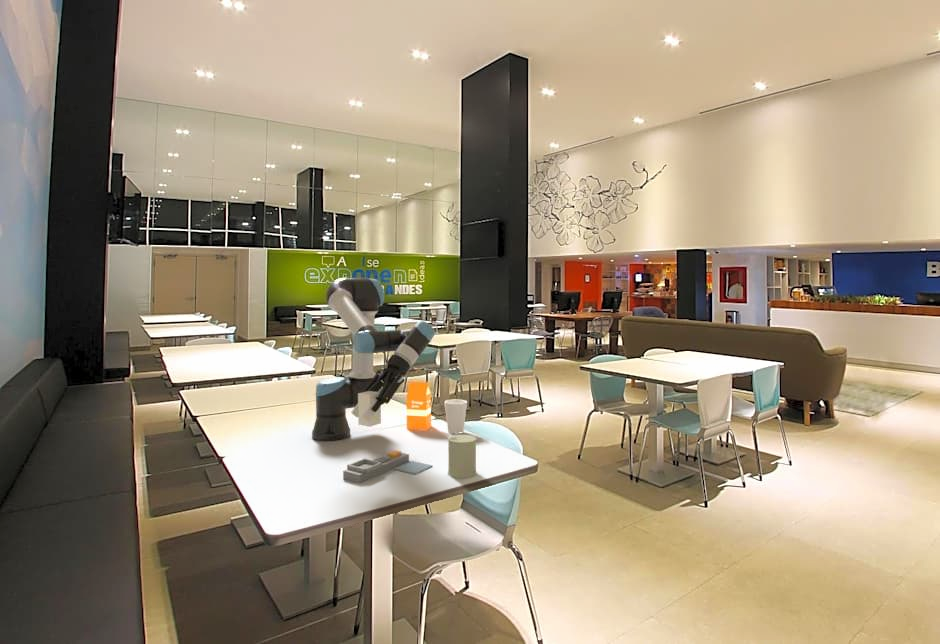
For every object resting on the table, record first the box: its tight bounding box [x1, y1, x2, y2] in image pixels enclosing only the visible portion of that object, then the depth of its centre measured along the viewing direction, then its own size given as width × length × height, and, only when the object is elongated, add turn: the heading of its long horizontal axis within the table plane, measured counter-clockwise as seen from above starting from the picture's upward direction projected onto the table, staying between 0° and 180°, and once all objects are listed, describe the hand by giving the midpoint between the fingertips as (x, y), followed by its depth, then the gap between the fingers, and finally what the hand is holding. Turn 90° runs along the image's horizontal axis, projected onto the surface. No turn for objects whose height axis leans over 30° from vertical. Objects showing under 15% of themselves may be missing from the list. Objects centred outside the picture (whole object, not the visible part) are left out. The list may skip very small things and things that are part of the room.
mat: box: [393, 460, 433, 475], centre depth 169 cm, size 9×9×1 cm
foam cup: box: [444, 398, 468, 434], centre depth 213 cm, size 10×9×13 cm
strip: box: [342, 450, 410, 484], centre depth 168 cm, size 8×24×4 cm, turn 148°
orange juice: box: [406, 381, 432, 431], centre depth 221 cm, size 8×9×20 cm
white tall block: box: [357, 391, 382, 427], centre depth 162 cm, size 5×5×10 cm
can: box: [447, 434, 477, 479], centre depth 164 cm, size 9×9×12 cm
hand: (359, 416), depth 160 cm, fingers closed on white tall block, 6 cm apart
